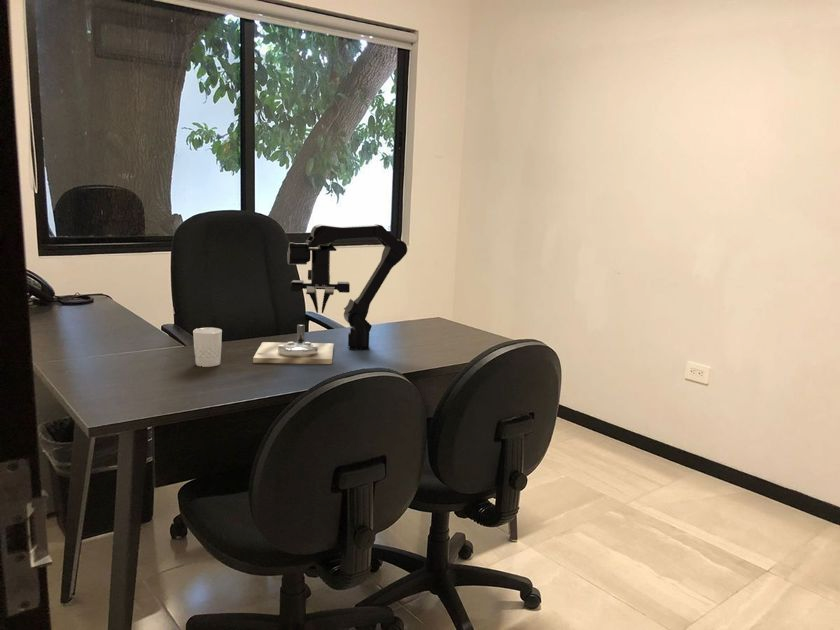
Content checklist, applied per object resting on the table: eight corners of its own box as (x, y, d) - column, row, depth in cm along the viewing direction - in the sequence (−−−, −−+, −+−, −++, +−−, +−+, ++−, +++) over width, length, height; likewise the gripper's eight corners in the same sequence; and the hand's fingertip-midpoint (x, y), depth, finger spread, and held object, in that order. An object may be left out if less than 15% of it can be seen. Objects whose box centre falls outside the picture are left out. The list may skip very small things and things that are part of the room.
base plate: (333, 347, 213) (333, 343, 212) (331, 363, 193) (331, 358, 193) (262, 346, 210) (262, 341, 210) (253, 362, 190) (253, 357, 190)
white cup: (187, 364, 185) (186, 330, 184) (208, 359, 192) (207, 326, 190) (207, 369, 182) (207, 334, 180) (228, 363, 189) (227, 330, 187)
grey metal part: (316, 357, 193) (317, 337, 192) (275, 357, 192) (276, 336, 191) (319, 343, 211) (319, 324, 210) (282, 342, 210) (282, 324, 208)
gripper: (350, 262, 214) (349, 309, 217) (293, 261, 212) (292, 307, 215) (350, 266, 203) (349, 315, 206) (289, 264, 201) (289, 314, 204)
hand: (319, 312), depth 208 cm, fingers closed
